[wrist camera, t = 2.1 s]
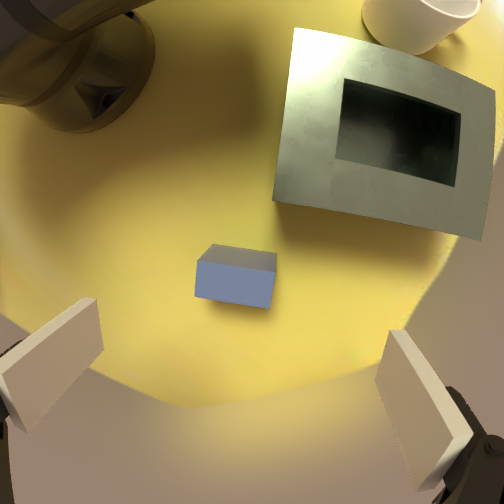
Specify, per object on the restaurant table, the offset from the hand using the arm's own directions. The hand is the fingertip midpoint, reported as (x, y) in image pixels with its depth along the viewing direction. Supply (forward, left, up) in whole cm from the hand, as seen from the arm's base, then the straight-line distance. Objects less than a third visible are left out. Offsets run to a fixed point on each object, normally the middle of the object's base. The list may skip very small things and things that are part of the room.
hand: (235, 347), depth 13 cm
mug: (+13, +26, -17) cm, 34 cm away
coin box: (+9, +11, -17) cm, 22 cm away
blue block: (-1, -2, -17) cm, 17 cm away
